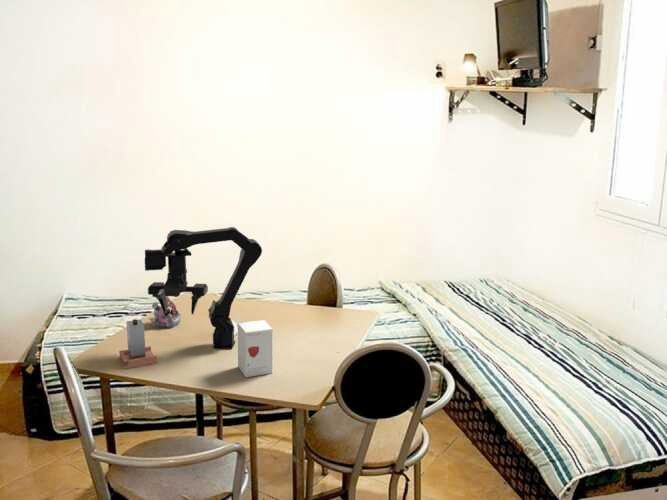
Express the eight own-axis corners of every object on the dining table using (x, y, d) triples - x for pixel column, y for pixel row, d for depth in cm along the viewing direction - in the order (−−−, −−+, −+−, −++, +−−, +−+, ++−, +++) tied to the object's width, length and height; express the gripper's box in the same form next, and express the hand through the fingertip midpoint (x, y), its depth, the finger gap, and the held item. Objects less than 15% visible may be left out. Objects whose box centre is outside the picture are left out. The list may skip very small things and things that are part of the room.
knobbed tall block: (142, 353, 206) (140, 316, 203) (145, 359, 201) (143, 321, 198) (128, 356, 204) (126, 318, 201) (131, 361, 199) (129, 323, 196)
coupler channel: (150, 352, 209) (150, 345, 209) (157, 363, 201) (157, 356, 200) (119, 357, 205) (119, 350, 204) (125, 369, 196) (125, 361, 196)
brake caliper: (173, 325, 228) (155, 298, 228) (154, 339, 232) (137, 312, 232) (191, 316, 238) (174, 290, 238) (172, 329, 242) (155, 303, 243)
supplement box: (245, 378, 192) (244, 332, 188) (237, 366, 200) (236, 322, 196) (273, 373, 195) (273, 328, 192) (264, 362, 203) (264, 319, 200)
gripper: (140, 274, 198) (143, 320, 202) (198, 276, 197) (200, 322, 201) (152, 265, 209) (154, 309, 212) (207, 267, 208) (208, 311, 212)
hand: (179, 313), depth 209 cm, fingers open, 9 cm apart
